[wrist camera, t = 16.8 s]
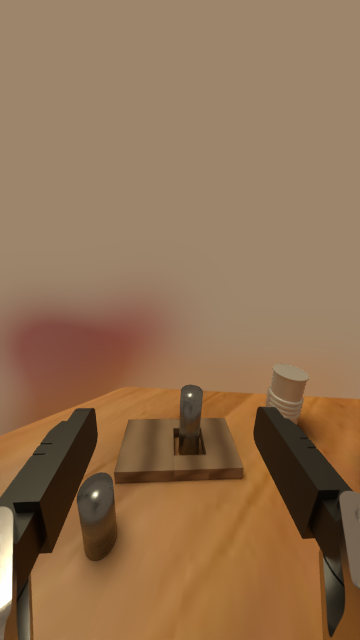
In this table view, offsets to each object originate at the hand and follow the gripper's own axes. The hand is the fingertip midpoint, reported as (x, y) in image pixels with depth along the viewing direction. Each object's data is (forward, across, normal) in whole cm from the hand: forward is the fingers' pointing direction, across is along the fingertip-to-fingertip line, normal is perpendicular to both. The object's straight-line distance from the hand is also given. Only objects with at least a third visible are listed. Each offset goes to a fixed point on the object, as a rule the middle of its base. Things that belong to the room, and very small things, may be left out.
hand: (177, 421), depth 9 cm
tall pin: (+21, -4, +28) cm, 35 cm away
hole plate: (+21, -2, +28) cm, 35 cm away
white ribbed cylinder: (+26, -26, +28) cm, 46 cm away
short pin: (+9, +9, +28) cm, 31 cm away
